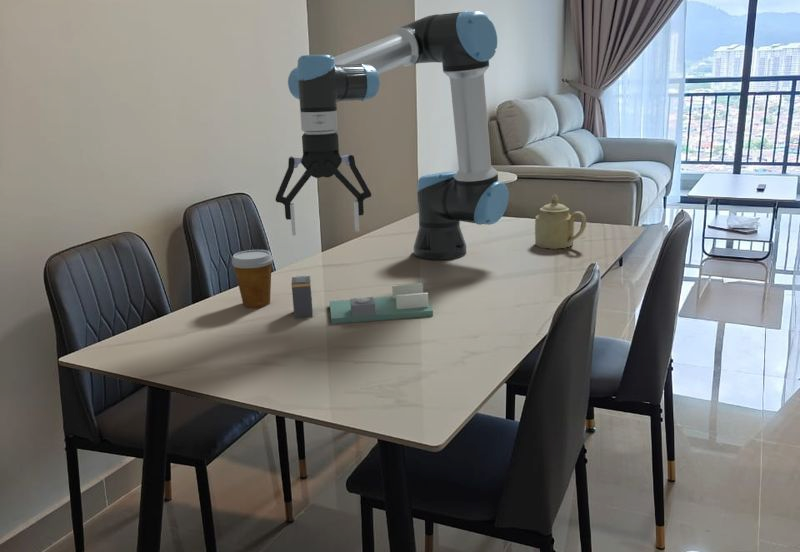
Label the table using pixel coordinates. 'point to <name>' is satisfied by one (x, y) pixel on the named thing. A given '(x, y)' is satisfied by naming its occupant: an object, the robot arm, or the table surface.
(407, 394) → the table surface
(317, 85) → the robot arm
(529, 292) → the table surface
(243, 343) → the table surface
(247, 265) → the disposable coffee cup
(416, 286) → the board
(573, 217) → the pale yellow ceramic pot
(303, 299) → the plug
